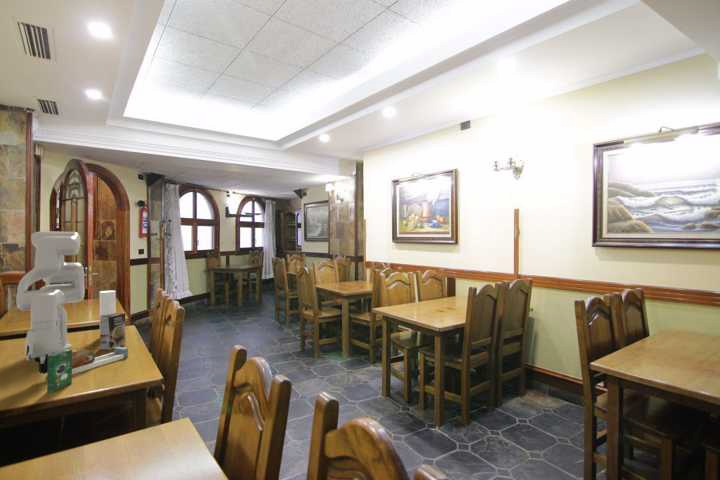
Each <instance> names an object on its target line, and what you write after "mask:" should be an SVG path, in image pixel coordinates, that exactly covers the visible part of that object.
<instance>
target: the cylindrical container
mask: <svg viewBox="0 0 720 480" xmlns="http://www.w3.org/2000/svg"><path fill="white" fill-rule="evenodd" d="M116 304H117V303H116V290H101V291H99V318H100V317H101V316H105V315H110V314H114V313H117V312H116V309H117V308H116Z"/></svg>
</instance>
